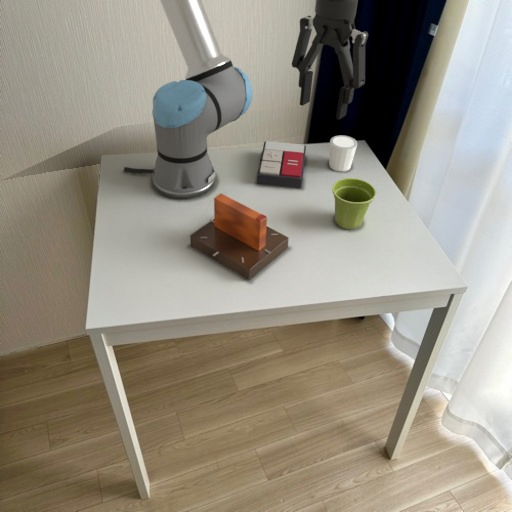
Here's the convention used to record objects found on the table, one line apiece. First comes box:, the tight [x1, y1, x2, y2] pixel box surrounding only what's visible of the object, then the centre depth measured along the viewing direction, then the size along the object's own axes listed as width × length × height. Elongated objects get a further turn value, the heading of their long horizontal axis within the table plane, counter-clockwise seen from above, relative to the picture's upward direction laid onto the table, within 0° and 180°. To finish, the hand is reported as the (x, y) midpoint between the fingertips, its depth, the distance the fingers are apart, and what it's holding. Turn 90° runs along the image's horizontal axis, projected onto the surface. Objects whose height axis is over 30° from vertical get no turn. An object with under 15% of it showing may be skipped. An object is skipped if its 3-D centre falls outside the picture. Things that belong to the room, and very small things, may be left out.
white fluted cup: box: [328, 135, 358, 172], centre depth 134 cm, size 7×7×7 cm
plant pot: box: [331, 177, 377, 230], centre depth 116 cm, size 9×9×9 cm
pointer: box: [213, 193, 268, 251], centre depth 106 cm, size 12×2×8 cm, turn 52°
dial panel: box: [189, 218, 290, 281], centre depth 110 cm, size 16×16×3 cm
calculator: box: [256, 140, 307, 189], centre depth 132 cm, size 11×4×15 cm
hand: (322, 109), depth 108 cm, fingers open, 8 cm apart
